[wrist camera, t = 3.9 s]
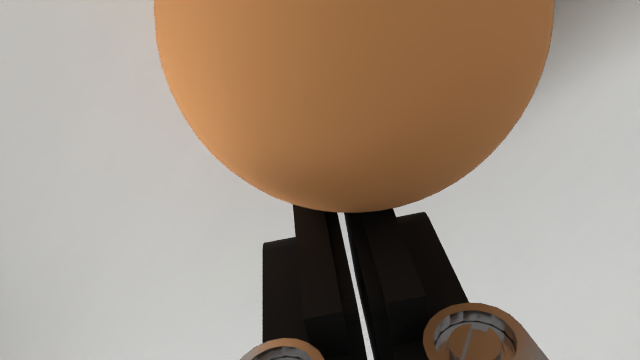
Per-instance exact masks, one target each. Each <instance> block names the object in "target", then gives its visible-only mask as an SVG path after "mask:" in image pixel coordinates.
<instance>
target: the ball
mask: <svg viewBox="0 0 640 360" xmlns="http://www.w3.org/2000/svg"><path fill="white" fill-rule="evenodd" d="M154 16H155V29H156V41H157V46H158V51H159V55H160V60H161V65H162V68H163V71H164V74H165V77H166V80H167V82H168V85H169V88H170V91H171V93H172V95H173V97H174V99H175V101H176V103H177V105H178V107H179V109H180V110H181V112H182V114H183V116H184V118H185V119H186V121H187V122H188V124H189V125H190V127H191V128H192V129H193V131H194V132H195V134H196V135H197V137H198V138H199V140H200V141H201V142H202V143H203V144H204V145H205V146H206V147H207V149H208V150H209V151H210V152H211V153H212V154H213V155H214V156H215V157H216V158H217V159H218V160H219V161H220V162H221V163H223V164H224V165H225V166H226V167H227V168H228V169H229V170H230V171H232V172H233V173H235V174H236V175H238V176H239V177H241V178H242V179H243V180H245V181H246V182H248V183H249V184H251V185H252V186H254V187H256V188H257V189H259V190H261V191H263V192H265V193H267V194H269V195H271V196H273V197H275V198H278V199H280V200H283V201H286V202H288V203H291V204H294V205H298V206H302V207H306V208H310V209H314V210H321V211H329V212H347V213H360V212H371V211H381V210H386V209H391V208H396V207H400V206H403V205H407V204H410V203H413V202H416V201H419V200H421V199H424V198H426V197H428V196H431V195H433V194H435V193H437V192H439V191H441V190H443V189H445V188H446V187H448V186H450V185H452V184H453V183H455V182H457V181H458V180H460V179H461V178H462V177H464V176H465V175H467V174H468V173H469V172H471V171H472V170H474V169H475V168H476V167H477V166H478V165H479V164H480V163H481V162H483V161H484V160H485V159H486V158H487V157H488V156H489V155H490V154H491V153H492V152H493V151H494V150H495V149H496V148H497V147H498V145H499V144H500V143H501V142H502V141H503V140H504V139H505V138H506V136H507V135H508V134H509V132H510V131H511V130H512V128H513V127H514V125H515V124H516V123H517V121H518V120H519V118H520V117H521V115H522V114H523V112H524V110H525V108H526V107H527V105H528V103H529V101H530V100H531V98H532V96H533V94H534V91H535V89H536V87H537V84H538V82H539V80H540V77H541V75H542V72H543V69H544V65H545V62H546V58H547V55H548V52H549V47H550V41H551V35H552V29H553V19H554V0H154Z"/></svg>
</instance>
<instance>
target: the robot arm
mask: <svg viewBox="0 0 640 360" xmlns="http://www.w3.org/2000/svg"><path fill="white" fill-rule="evenodd" d="M293 211H294V222H295V234H296V237H292V238H287V239H282V240H277V241H272V242H267V243H264V244H263V344H261V345H259V346H256V347H254V348H253V349H252V350H250V351H249V352H248V353H247V354H245V355H244V356H243V357H242V358H241V359H240V360H367V356H366V350H365V345H364V339H363V334H362V328H361V323H360V317H359V312H358V307H357V302H356V298H355V293H354V288H353V284H352V279H351V274H350V270H349V265H348V260H347V256H346V251H345V247H344V242H343V237H342V233H341V228H340V224H339V219H338V214H337V212H329V211H321V210H314V209H310V208H306V207H302V206H298V205H294V204H293ZM344 215H345V220H346V226H347V232H348V237H349V243H350V248H351V254H352V260H353V265H354V271H355V276H356V281H357V286H358V291H359V295H360V299H361V304H362V308H363V313H364V317H365V321H366V326H367V330H368V335H369V339H370V343H371V348H372V352H373V357H374V360H549V359H548V358H547V357H546V355H545V354H544V353H543V352H542V350H541V349H540V348H539V347H538V345H537V344H536V343H535V342H534V340H533V339H532V338H531V337H530V335H529V334H528V333H527V332H526V330H525V329H524V328H523V327H522V325H521V324H520V323H519V322H518V321H517V320H515V319H514V318H513V317H512V316H511V315H510V314H508V313H506V312H504V311H502V310H501V309H499V308H497V307H493V306H489V305H486V304H482V303H469V301H468V299H467V297H466V295H465V293H464V291H463V289H462V287H461V285H460V283H459V280H458V278H457V276H456V274H455V272H454V270H453V268H452V266H451V264H450V261H449V259H448V257H447V255H446V253H445V251H444V249H443V247H442V245H441V243H440V240H439V238H438V236H437V234H436V232H435V230H434V228H433V226H432V224H431V222H430V219H429V217H428V216H427V214H426V213H425V212H421V213H416V214H411V215H405V216H400V217H396V216H395V213H394V210H393V208H391V209H386V210H381V211H371V212H360V213H347V212H344Z"/></svg>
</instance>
